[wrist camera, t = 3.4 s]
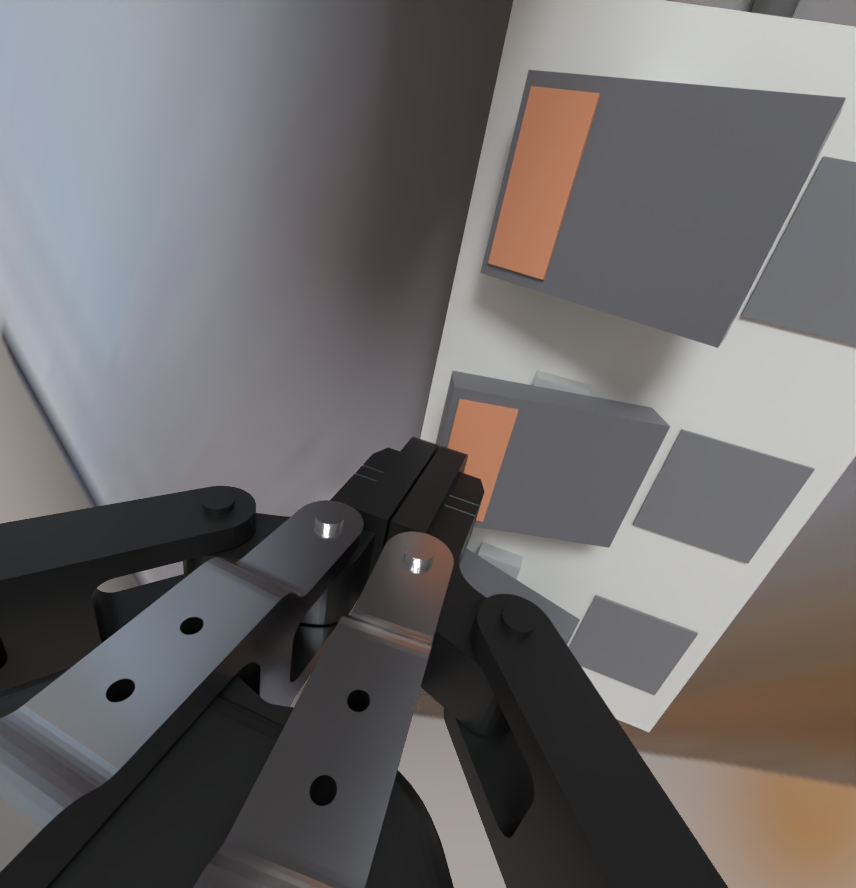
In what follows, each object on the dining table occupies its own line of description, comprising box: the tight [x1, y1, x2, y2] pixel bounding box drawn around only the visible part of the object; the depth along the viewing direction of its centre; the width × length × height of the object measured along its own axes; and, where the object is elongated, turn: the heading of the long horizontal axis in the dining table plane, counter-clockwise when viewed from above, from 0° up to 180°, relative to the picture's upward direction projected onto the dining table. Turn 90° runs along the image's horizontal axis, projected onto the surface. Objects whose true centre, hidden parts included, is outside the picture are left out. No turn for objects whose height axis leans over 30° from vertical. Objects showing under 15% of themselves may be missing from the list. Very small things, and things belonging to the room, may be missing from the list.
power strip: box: [420, 0, 856, 732], centre depth 15 cm, size 12×28×5 cm, turn 168°
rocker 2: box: [436, 371, 670, 548], centre depth 14 cm, size 6×4×1 cm
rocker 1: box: [480, 70, 846, 348], centre depth 11 cm, size 6×4×1 cm
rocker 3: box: [459, 548, 580, 645], centre depth 17 cm, size 6×4×1 cm
